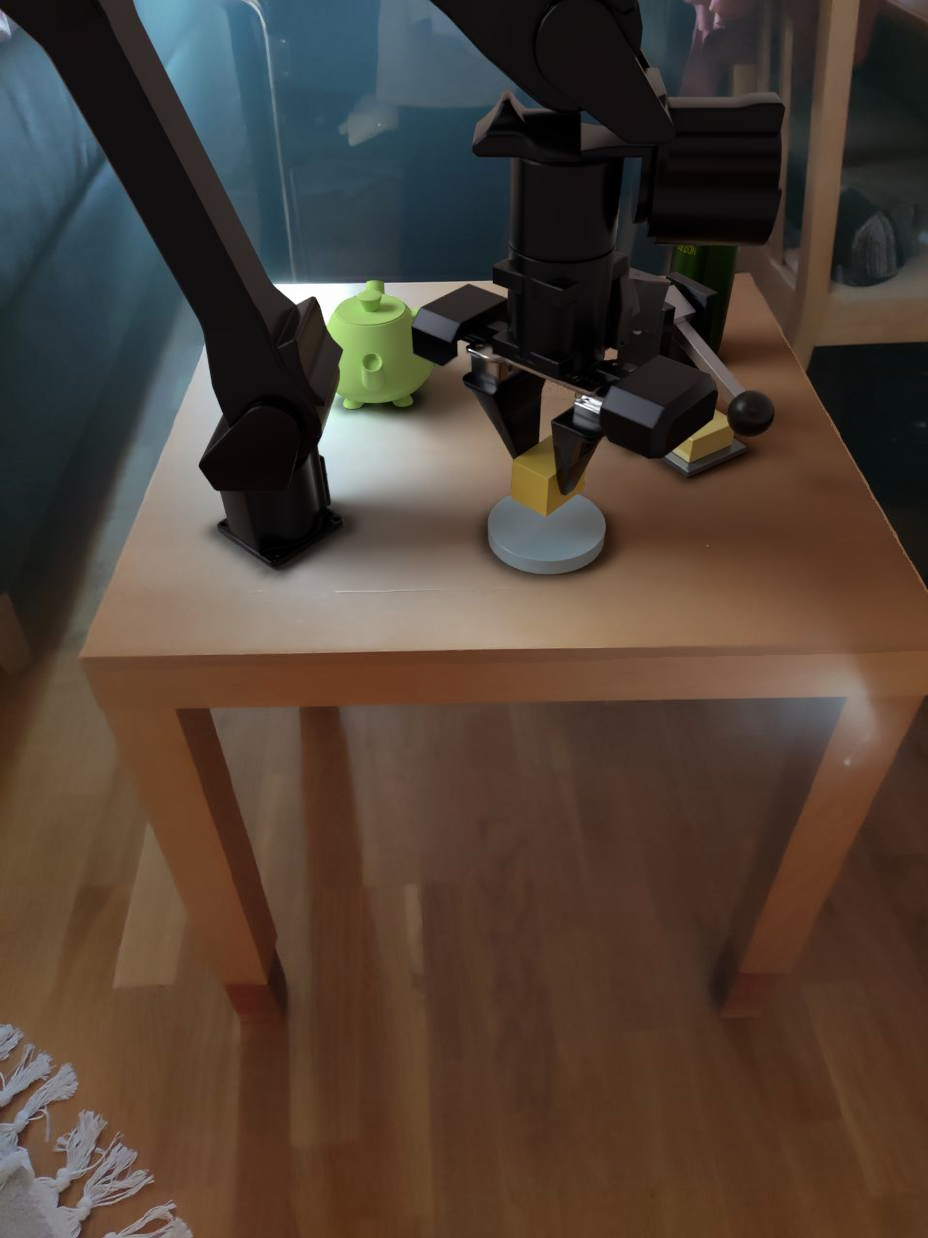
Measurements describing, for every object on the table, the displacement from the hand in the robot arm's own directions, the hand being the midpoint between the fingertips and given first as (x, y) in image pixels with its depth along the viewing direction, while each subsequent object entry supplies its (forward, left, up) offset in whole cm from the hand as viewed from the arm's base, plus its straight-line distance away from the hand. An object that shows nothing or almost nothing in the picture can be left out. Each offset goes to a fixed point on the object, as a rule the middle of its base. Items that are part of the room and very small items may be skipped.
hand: (547, 482), depth 58 cm
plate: (0, 0, -4) cm, 5 cm away
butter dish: (+16, -2, -4) cm, 17 cm away
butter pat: (0, 0, -1) cm, 1 cm away
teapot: (+6, +23, -5) cm, 24 cm away
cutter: (+17, +3, -4) cm, 18 cm away
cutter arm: (+16, -1, +1) cm, 16 cm away
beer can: (+29, +6, -5) cm, 30 cm away
